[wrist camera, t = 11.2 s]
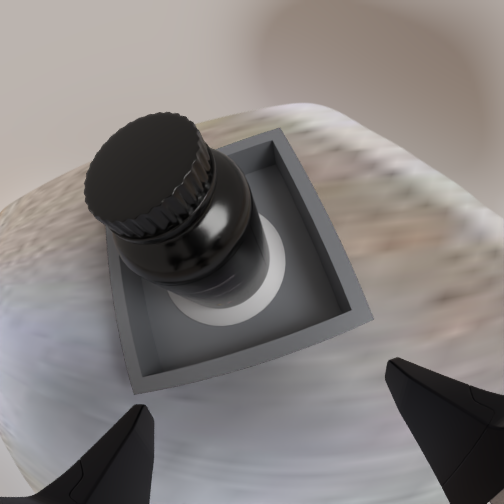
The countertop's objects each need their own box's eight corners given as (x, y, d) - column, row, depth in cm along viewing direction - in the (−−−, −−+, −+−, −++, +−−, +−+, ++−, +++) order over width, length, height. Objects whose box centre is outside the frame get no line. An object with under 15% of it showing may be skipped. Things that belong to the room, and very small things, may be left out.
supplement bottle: (175, 230, 21) (82, 126, 10) (262, 210, 21) (224, 74, 10) (181, 318, 19) (52, 268, 8) (279, 302, 18) (249, 221, 7)
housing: (359, 325, 18) (374, 319, 14) (162, 389, 18) (134, 394, 15) (283, 159, 23) (279, 127, 20) (128, 220, 24) (104, 199, 20)
